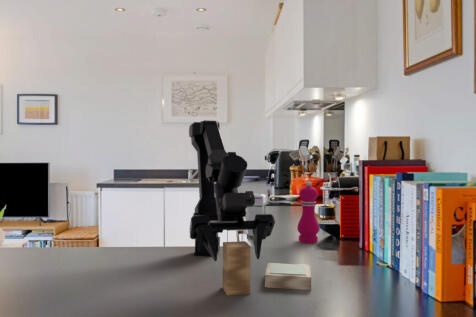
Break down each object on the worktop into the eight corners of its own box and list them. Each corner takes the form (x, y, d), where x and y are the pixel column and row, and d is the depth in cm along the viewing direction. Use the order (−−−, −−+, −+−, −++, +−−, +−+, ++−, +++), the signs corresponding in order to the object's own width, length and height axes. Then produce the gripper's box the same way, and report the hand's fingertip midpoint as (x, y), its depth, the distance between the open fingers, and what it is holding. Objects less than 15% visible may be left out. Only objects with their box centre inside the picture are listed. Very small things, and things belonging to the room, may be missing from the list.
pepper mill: (320, 240, 143) (321, 181, 142) (317, 244, 136) (318, 182, 135) (299, 238, 145) (300, 180, 145) (295, 242, 138) (296, 182, 138)
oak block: (226, 295, 87) (227, 247, 87) (222, 287, 92) (222, 242, 92) (250, 293, 88) (250, 246, 88) (244, 286, 93) (245, 241, 93)
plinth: (264, 287, 92) (265, 273, 92) (267, 274, 102) (267, 262, 102) (311, 289, 91) (311, 276, 91) (309, 276, 101) (309, 263, 101)
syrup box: (263, 236, 147) (264, 195, 147) (247, 235, 148) (247, 195, 148) (265, 233, 153) (266, 193, 153) (249, 232, 154) (250, 193, 154)
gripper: (191, 178, 92) (196, 239, 81) (273, 178, 96) (288, 236, 85) (187, 209, 100) (192, 268, 89) (263, 208, 104) (276, 264, 93)
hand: (237, 259), depth 89 cm, fingers open, 9 cm apart
